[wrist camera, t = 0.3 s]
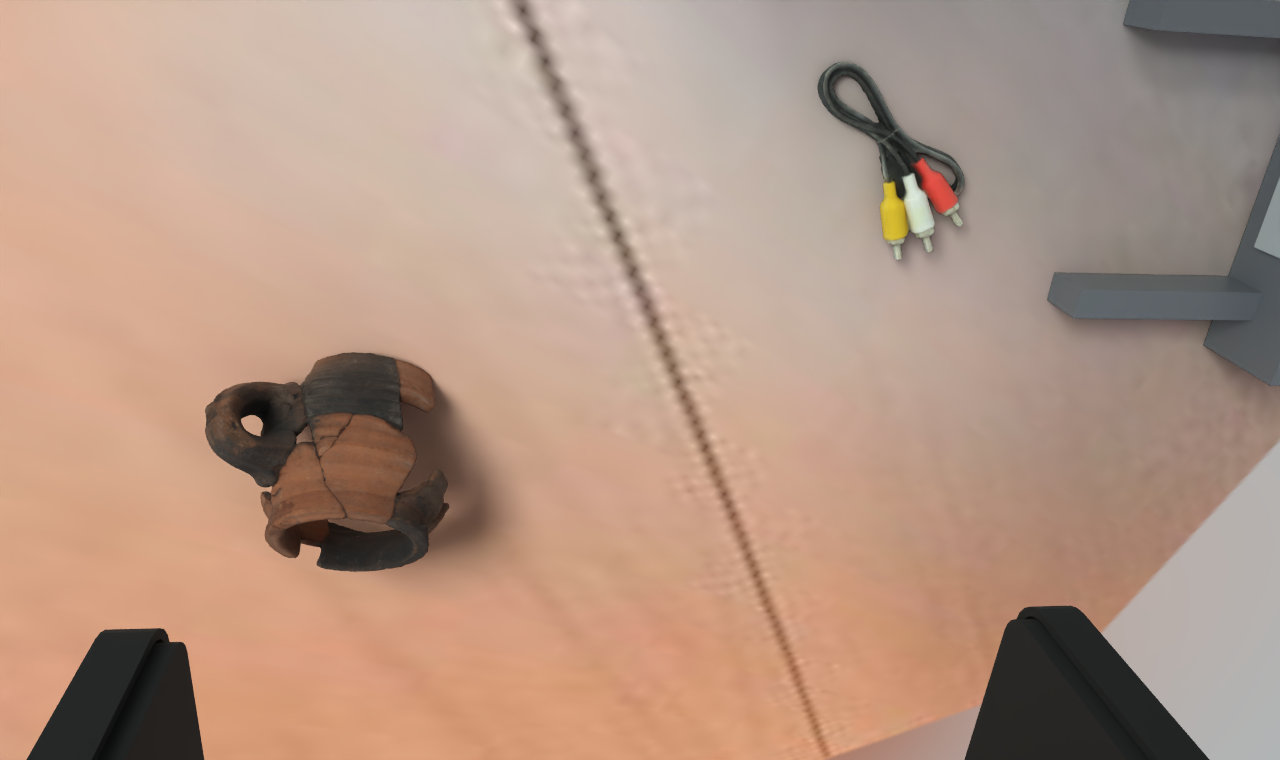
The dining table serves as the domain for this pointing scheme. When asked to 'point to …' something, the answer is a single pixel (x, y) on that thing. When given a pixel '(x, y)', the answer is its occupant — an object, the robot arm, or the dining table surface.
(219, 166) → the dining table surface
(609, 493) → the dining table surface
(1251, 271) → the dock
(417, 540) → the pottery mug
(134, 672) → the robot arm
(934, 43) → the dining table surface
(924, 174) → the composite cable
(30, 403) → the dining table surface
